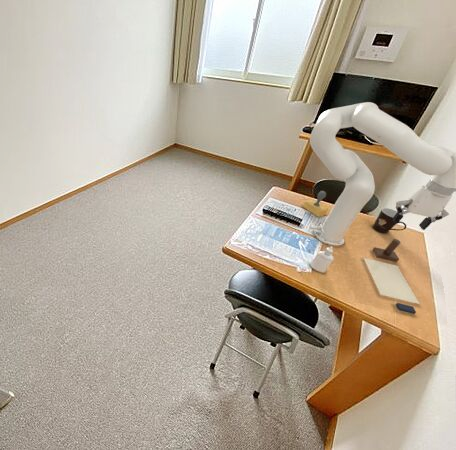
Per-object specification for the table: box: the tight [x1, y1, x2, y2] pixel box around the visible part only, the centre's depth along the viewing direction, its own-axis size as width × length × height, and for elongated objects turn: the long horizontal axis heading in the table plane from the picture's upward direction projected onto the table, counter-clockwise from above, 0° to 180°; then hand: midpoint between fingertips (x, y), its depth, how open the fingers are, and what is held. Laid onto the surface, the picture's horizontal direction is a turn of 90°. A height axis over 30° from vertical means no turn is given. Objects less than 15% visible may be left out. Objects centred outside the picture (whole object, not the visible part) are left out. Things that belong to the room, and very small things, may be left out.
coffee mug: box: [372, 207, 407, 235], centre depth 131 cm, size 12×9×10 cm
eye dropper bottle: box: [310, 245, 334, 274], centre depth 106 cm, size 4×6×12 cm
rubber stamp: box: [302, 190, 329, 218], centre depth 141 cm, size 10×6×12 cm, turn 27°
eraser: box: [395, 302, 417, 315], centre depth 96 cm, size 5×2×2 cm, turn 74°
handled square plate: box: [372, 238, 401, 263], centre depth 116 cm, size 8×5×10 cm, turn 74°
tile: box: [363, 257, 420, 305], centre depth 107 cm, size 13×20×1 cm, turn 164°
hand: (407, 224), depth 108 cm, fingers open, 9 cm apart
